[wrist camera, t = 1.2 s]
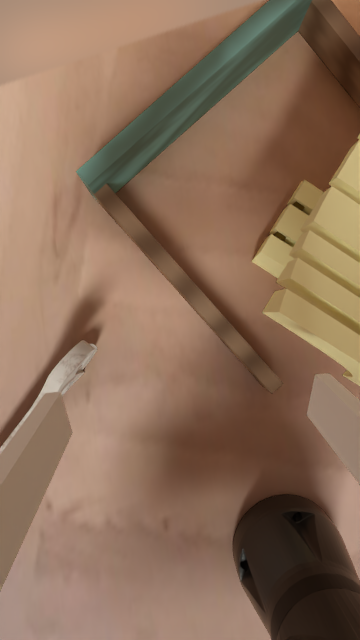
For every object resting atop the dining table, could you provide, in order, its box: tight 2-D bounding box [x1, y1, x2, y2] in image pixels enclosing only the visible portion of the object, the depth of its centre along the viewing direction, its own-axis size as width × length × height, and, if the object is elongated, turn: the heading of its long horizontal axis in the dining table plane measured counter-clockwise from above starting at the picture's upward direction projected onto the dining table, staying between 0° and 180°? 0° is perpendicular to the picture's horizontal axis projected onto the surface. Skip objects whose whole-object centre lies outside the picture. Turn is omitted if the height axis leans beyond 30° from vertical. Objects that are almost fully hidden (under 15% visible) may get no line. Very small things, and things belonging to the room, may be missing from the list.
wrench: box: [0, 340, 97, 454], centre depth 29 cm, size 8×2×30 cm
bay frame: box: [76, 0, 360, 394], centre depth 30 cm, size 36×38×5 cm
